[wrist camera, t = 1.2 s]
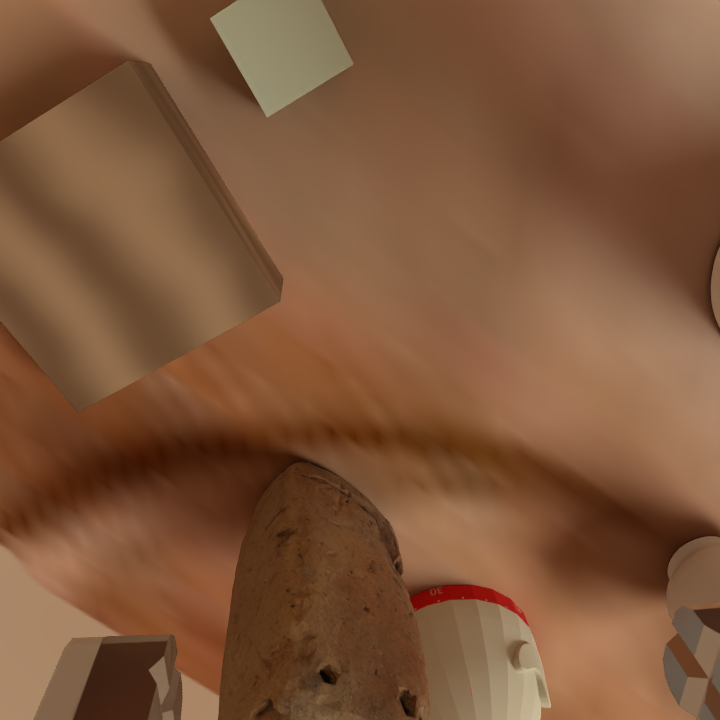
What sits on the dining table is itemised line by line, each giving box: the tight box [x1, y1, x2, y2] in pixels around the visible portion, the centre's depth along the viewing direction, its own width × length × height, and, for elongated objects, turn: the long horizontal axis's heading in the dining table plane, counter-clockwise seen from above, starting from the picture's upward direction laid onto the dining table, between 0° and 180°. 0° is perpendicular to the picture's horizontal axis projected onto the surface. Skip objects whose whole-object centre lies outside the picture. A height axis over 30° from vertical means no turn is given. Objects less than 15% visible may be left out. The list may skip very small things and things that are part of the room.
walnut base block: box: [0, 61, 283, 412], centre depth 36 cm, size 14×14×5 cm
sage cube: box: [210, 0, 354, 117], centre depth 32 cm, size 5×5×5 cm
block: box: [218, 462, 430, 720], centre depth 38 cm, size 11×8×20 cm
